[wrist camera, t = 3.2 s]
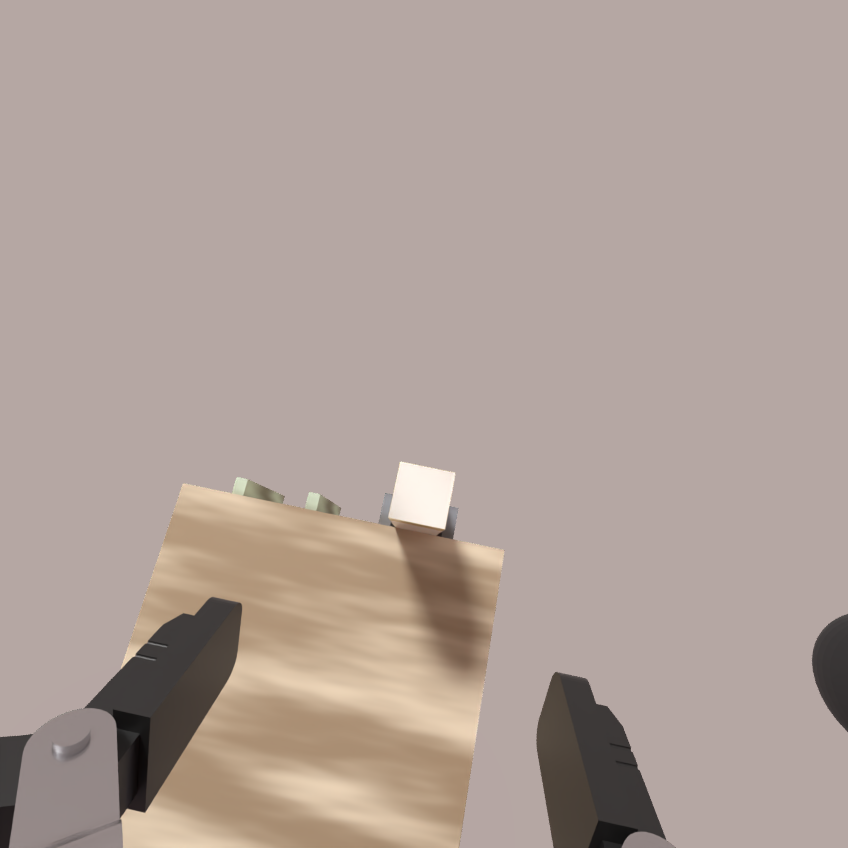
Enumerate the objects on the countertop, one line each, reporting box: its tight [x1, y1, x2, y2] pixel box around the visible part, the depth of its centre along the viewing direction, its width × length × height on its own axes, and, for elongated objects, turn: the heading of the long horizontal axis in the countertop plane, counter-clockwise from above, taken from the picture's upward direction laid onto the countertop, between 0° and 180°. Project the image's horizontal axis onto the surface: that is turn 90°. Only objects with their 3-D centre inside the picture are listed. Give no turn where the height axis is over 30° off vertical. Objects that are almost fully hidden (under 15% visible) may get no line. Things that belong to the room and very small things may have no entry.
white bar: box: [388, 462, 455, 536], centre depth 35 cm, size 24×3×3 cm, turn 1°
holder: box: [120, 477, 504, 848], centre depth 34 cm, size 12×22×34 cm, turn 91°
